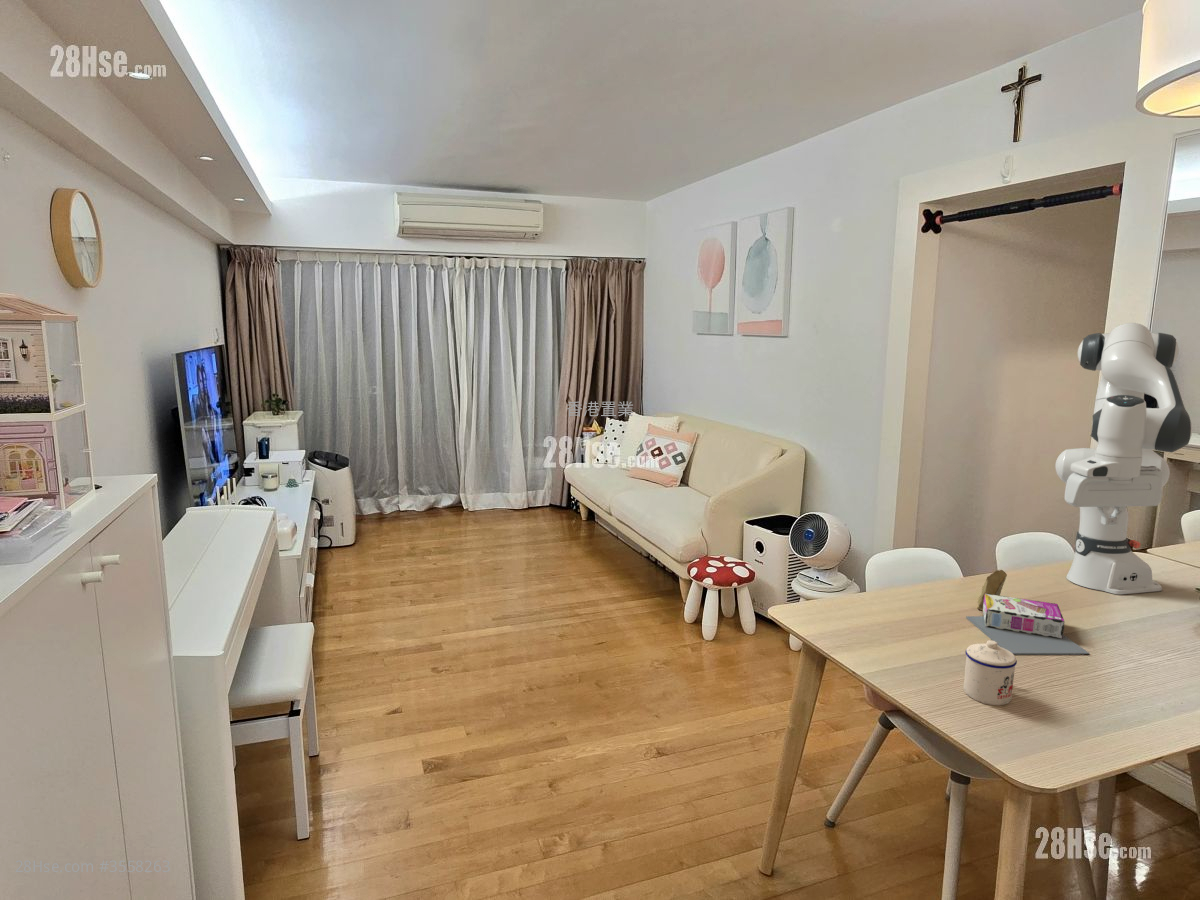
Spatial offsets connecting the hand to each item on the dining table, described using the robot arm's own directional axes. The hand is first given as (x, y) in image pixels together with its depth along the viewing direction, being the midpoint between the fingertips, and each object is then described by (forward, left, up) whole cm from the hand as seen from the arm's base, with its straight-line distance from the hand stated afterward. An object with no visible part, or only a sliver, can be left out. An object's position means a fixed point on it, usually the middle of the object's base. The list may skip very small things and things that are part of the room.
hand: (1109, 523), depth 162 cm
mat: (+17, 0, -28) cm, 33 cm away
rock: (+17, -18, -28) cm, 38 cm away
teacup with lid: (+39, +26, -28) cm, 55 cm away
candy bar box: (+7, -2, -25) cm, 26 cm away
